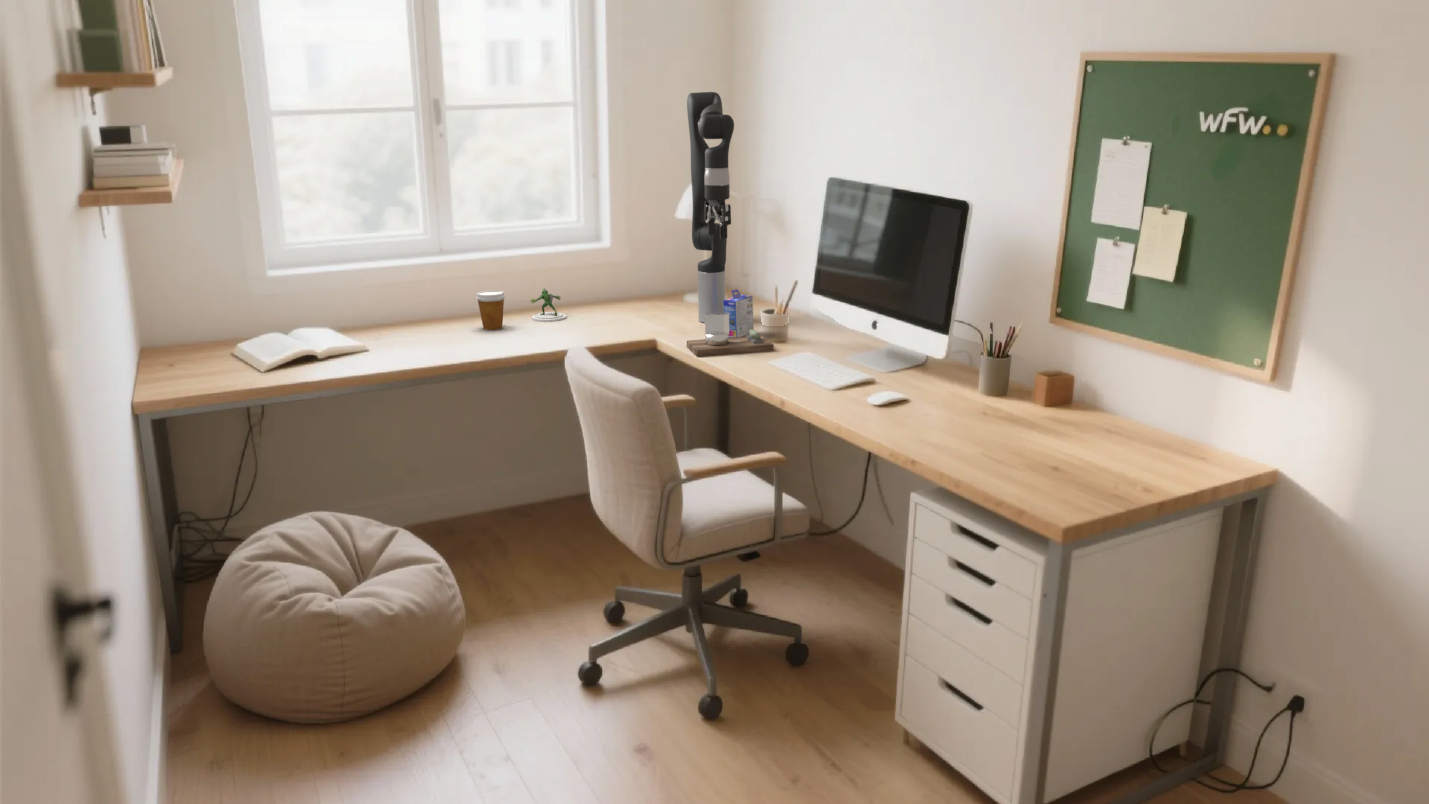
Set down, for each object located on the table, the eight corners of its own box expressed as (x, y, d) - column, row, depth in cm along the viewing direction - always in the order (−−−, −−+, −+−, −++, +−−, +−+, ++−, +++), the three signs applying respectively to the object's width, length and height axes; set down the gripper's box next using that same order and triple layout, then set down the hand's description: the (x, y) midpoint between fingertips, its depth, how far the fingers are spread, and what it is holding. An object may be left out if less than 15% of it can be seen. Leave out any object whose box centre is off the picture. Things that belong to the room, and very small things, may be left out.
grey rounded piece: (706, 346, 335) (705, 316, 333) (705, 340, 342) (704, 312, 339) (729, 345, 335) (729, 316, 333) (728, 340, 342) (728, 311, 340)
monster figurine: (558, 313, 395) (556, 285, 392) (572, 319, 385) (570, 290, 382) (526, 317, 389) (524, 288, 386) (539, 323, 379) (537, 293, 377)
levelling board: (686, 346, 343) (686, 331, 342) (761, 341, 349) (761, 325, 348) (696, 356, 331) (696, 340, 330) (773, 350, 337) (773, 334, 336)
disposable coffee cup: (513, 326, 375) (510, 291, 371) (493, 332, 367) (490, 296, 364) (492, 323, 380) (489, 289, 376) (472, 329, 372) (469, 293, 368)
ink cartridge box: (740, 330, 364) (740, 287, 360) (754, 332, 361) (754, 288, 357) (723, 336, 357) (722, 292, 352) (737, 338, 353) (736, 293, 349)
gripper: (696, 181, 339) (697, 235, 344) (715, 185, 327) (716, 240, 331) (718, 180, 342) (719, 233, 347) (738, 184, 330) (738, 239, 334)
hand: (717, 236), depth 339 cm, fingers open, 8 cm apart
